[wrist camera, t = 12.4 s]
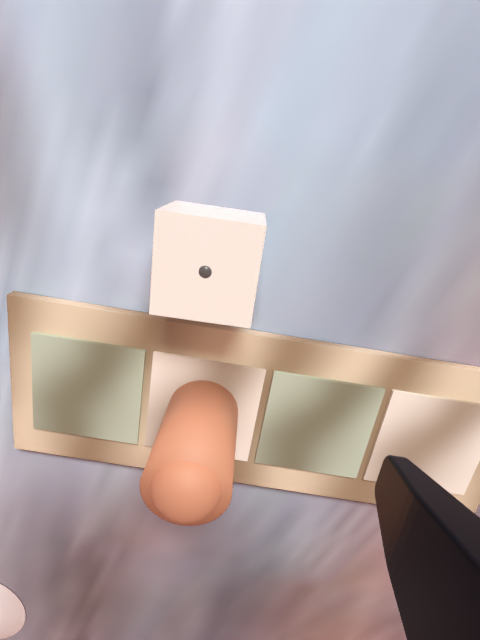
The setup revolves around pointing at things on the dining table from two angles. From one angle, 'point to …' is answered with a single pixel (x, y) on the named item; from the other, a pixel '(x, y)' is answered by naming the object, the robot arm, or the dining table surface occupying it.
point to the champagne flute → (10, 613)
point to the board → (239, 398)
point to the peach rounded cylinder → (193, 456)
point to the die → (206, 263)
